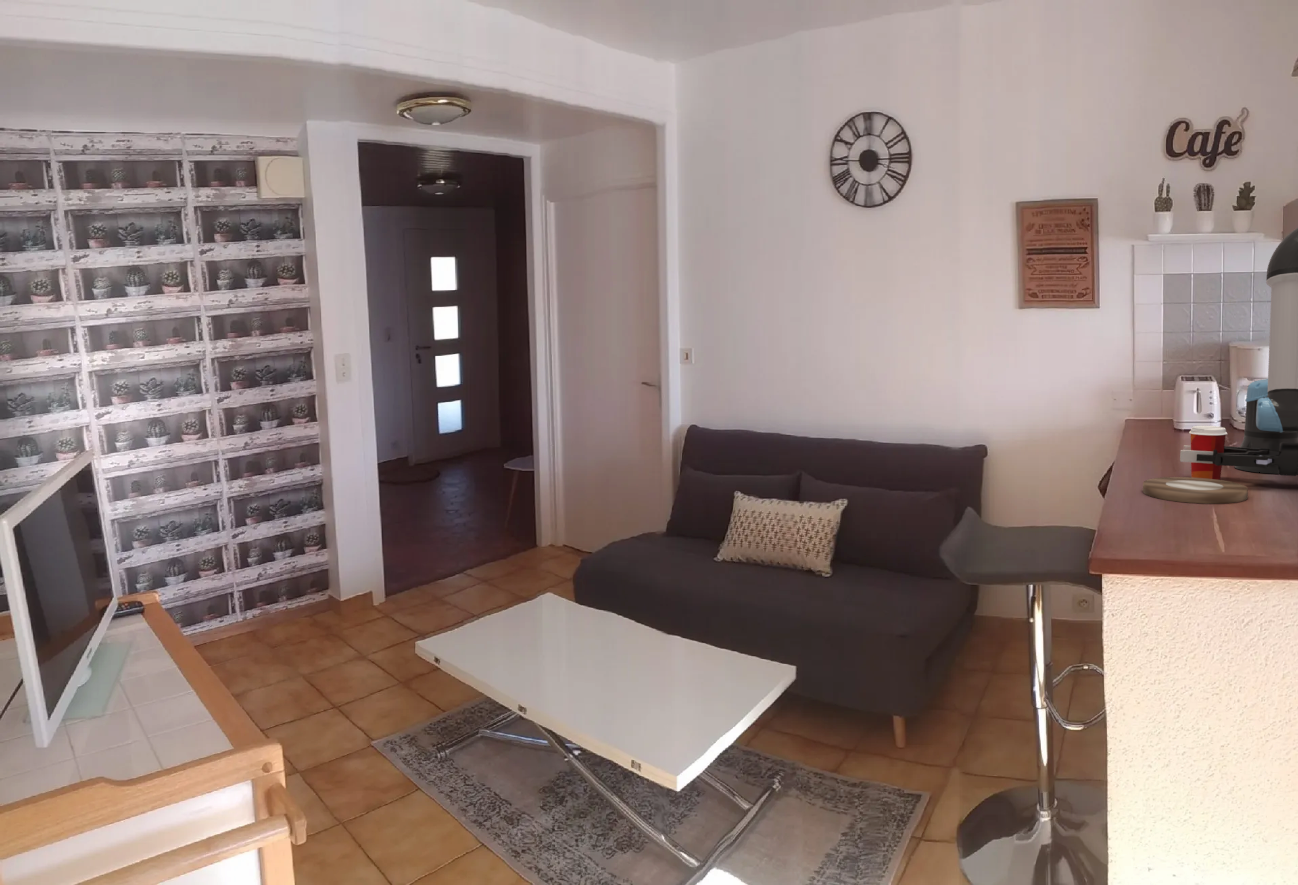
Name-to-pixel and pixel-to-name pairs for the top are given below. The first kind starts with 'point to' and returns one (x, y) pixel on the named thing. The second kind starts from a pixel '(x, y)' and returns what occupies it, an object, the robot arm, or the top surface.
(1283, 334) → the robot arm
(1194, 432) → the paper cup
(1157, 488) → the disc
